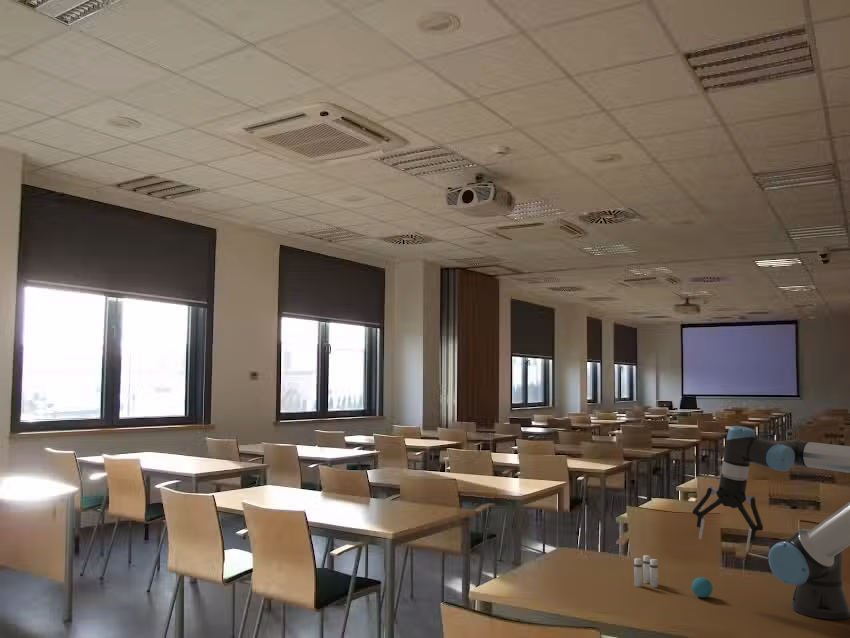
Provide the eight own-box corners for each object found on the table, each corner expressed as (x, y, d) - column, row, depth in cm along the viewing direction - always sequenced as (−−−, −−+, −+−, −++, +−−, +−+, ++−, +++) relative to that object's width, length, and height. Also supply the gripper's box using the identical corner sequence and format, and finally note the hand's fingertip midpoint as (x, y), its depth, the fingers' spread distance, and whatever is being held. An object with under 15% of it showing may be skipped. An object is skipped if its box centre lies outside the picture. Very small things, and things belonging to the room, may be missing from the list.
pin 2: (652, 582, 250) (652, 556, 250) (646, 583, 249) (646, 557, 249) (647, 580, 252) (647, 554, 253) (641, 581, 251) (641, 555, 252)
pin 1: (643, 586, 246) (643, 559, 246) (637, 587, 244) (637, 560, 245) (638, 584, 248) (638, 557, 248) (632, 585, 247) (632, 558, 247)
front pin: (659, 587, 245) (659, 560, 246) (653, 588, 244) (653, 561, 244) (654, 585, 247) (654, 558, 248) (648, 585, 246) (648, 559, 247)
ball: (716, 598, 233) (716, 578, 234) (702, 601, 230) (702, 581, 231) (701, 593, 238) (701, 574, 239) (687, 595, 236) (687, 576, 236)
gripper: (778, 484, 230) (767, 551, 231) (693, 465, 241) (683, 530, 242) (778, 489, 223) (766, 559, 225) (690, 469, 234) (679, 536, 236)
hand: (723, 544), depth 234 cm, fingers open, 13 cm apart
